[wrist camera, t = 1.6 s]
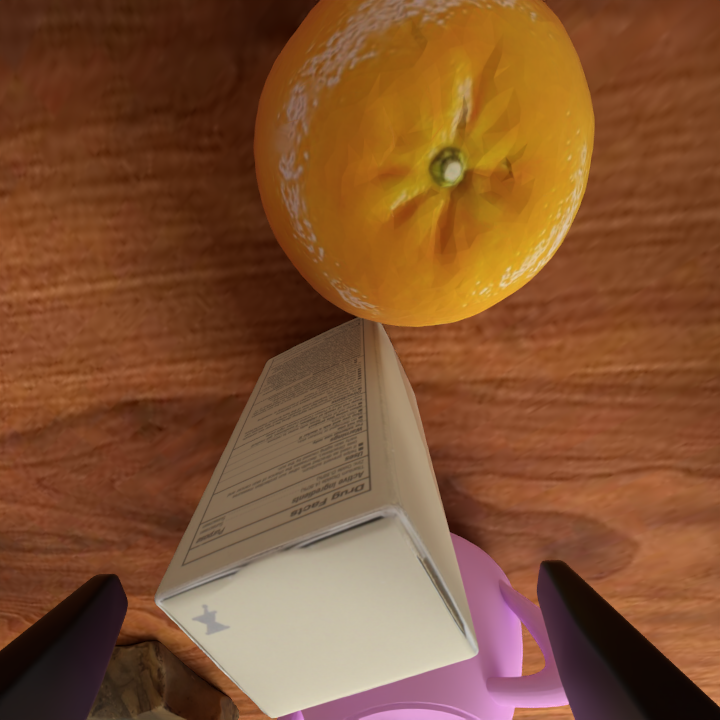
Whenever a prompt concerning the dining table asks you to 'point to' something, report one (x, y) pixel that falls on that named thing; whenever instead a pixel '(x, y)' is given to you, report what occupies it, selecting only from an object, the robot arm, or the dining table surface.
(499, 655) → the teapot
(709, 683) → the dining table surface
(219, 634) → the box
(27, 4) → the dining table surface
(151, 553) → the dining table surface
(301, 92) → the fruit
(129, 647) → the decorative stone
